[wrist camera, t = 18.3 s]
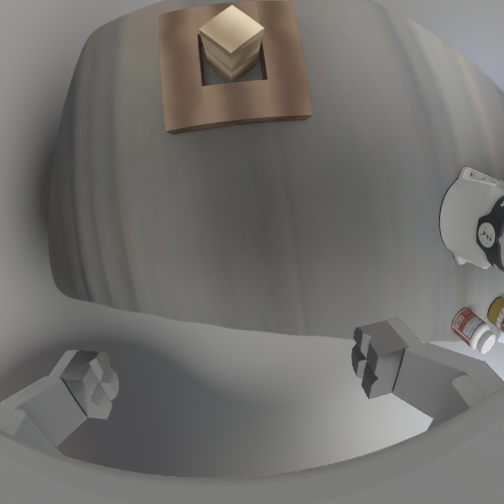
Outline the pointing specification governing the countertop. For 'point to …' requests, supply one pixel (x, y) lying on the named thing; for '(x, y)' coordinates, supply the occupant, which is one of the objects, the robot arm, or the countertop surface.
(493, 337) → the pill bottle
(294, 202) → the countertop surface
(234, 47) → the maple peg
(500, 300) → the paper tube
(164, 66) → the socket block
